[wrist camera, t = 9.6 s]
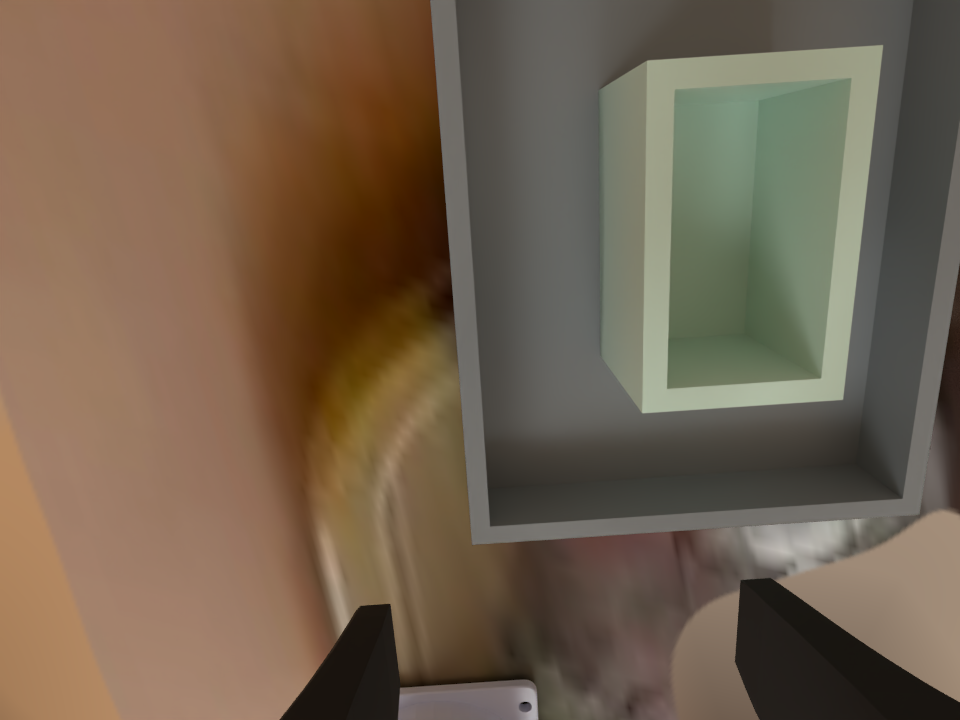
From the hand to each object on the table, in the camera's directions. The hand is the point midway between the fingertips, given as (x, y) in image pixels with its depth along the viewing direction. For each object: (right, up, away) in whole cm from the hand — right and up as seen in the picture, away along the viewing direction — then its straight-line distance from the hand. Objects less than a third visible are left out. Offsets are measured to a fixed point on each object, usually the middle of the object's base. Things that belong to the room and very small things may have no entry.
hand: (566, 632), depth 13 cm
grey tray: (+4, +10, +7) cm, 13 cm away
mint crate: (+4, +10, +6) cm, 12 cm away
